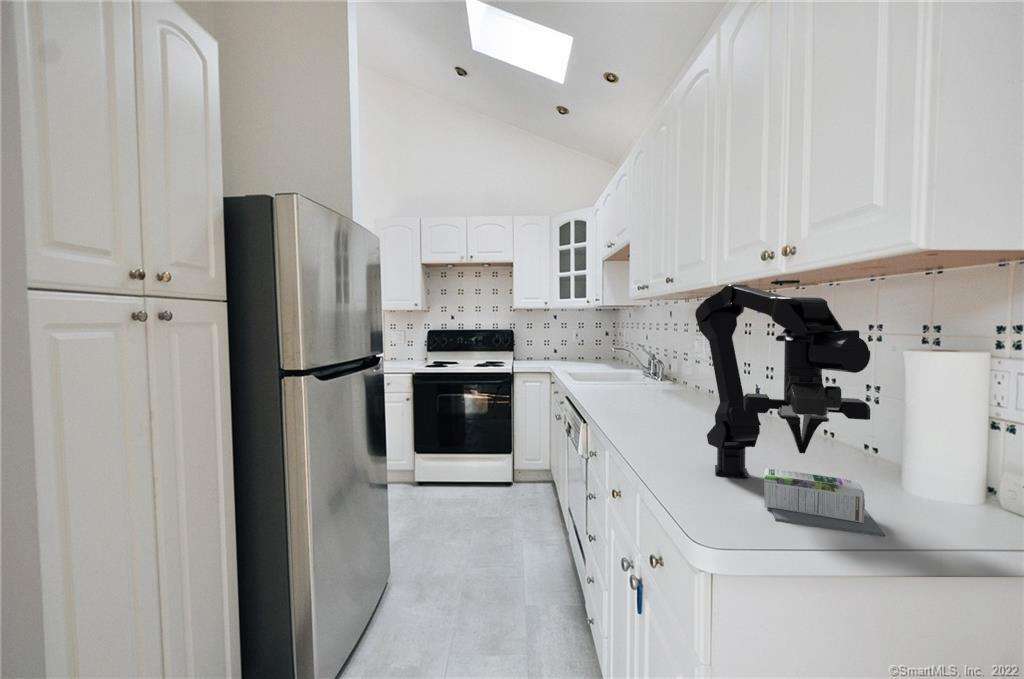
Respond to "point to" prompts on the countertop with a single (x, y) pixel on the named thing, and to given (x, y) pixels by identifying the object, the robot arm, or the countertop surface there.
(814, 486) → the syrup box
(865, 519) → the mat
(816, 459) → the countertop surface
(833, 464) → the countertop surface
